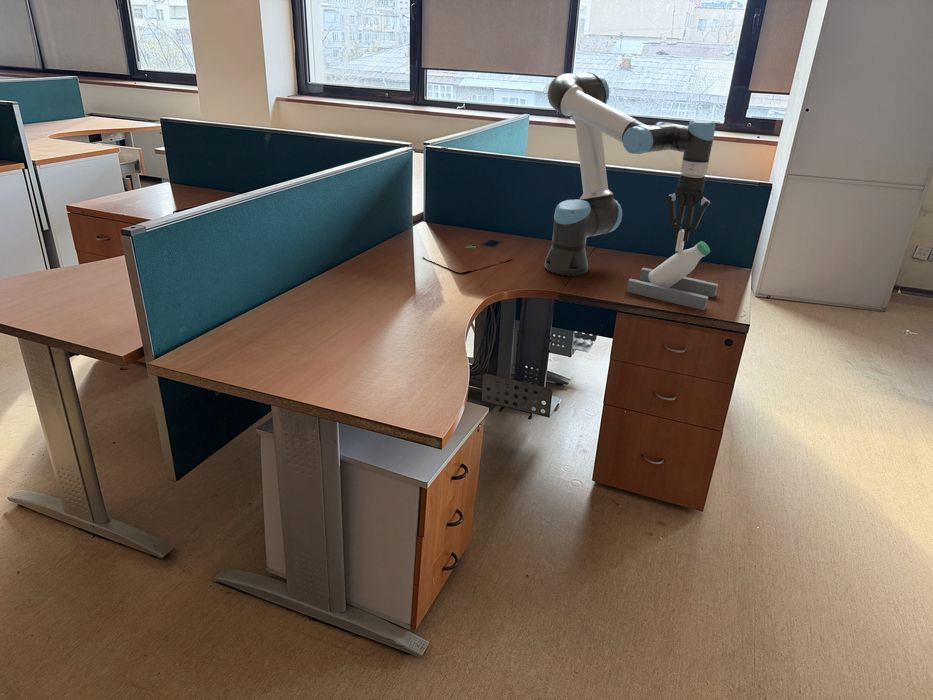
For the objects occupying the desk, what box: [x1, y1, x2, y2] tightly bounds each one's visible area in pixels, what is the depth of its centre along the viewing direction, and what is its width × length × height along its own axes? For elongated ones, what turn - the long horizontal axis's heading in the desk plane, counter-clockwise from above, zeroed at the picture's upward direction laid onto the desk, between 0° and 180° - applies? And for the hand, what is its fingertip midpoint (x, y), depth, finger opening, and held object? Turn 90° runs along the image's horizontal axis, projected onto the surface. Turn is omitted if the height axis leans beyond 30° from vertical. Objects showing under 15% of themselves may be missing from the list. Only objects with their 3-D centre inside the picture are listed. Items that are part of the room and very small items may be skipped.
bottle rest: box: [626, 267, 719, 311], centre depth 211 cm, size 25×15×4 cm, turn 58°
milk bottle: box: [648, 240, 711, 288], centre depth 207 cm, size 8×8×20 cm
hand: (679, 250), depth 205 cm, fingers closed
